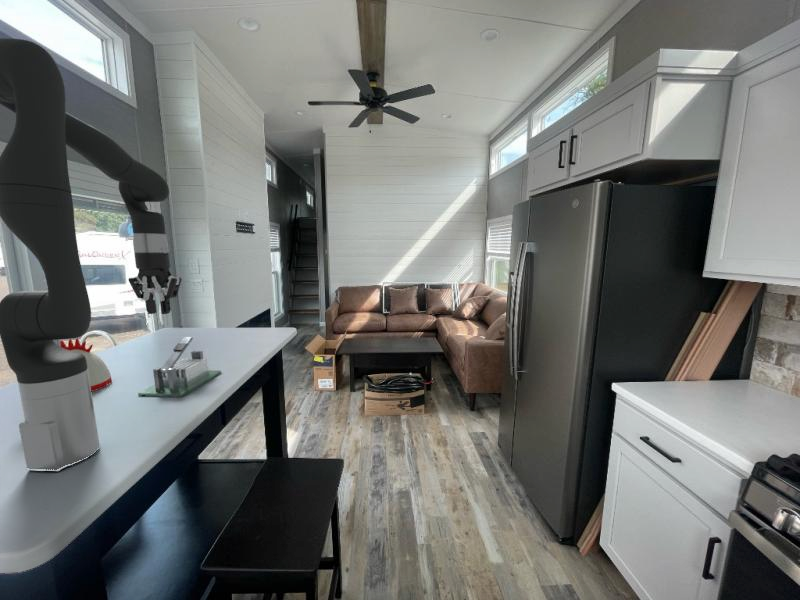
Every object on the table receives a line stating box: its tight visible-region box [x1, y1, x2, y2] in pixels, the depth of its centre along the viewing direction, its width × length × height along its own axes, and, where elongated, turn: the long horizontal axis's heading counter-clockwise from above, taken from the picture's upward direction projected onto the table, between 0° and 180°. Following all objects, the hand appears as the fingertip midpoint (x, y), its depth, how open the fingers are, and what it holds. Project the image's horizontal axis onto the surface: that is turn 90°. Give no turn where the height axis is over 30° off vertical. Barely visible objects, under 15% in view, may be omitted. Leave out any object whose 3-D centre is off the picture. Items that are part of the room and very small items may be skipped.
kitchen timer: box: [59, 337, 112, 392], centre depth 97 cm, size 14×14×15 cm
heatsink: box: [137, 350, 222, 398], centre depth 100 cm, size 18×13×8 cm
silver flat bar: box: [159, 336, 194, 373], centre depth 98 cm, size 13×3×1 cm
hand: (159, 313), depth 91 cm, fingers open, 3 cm apart
